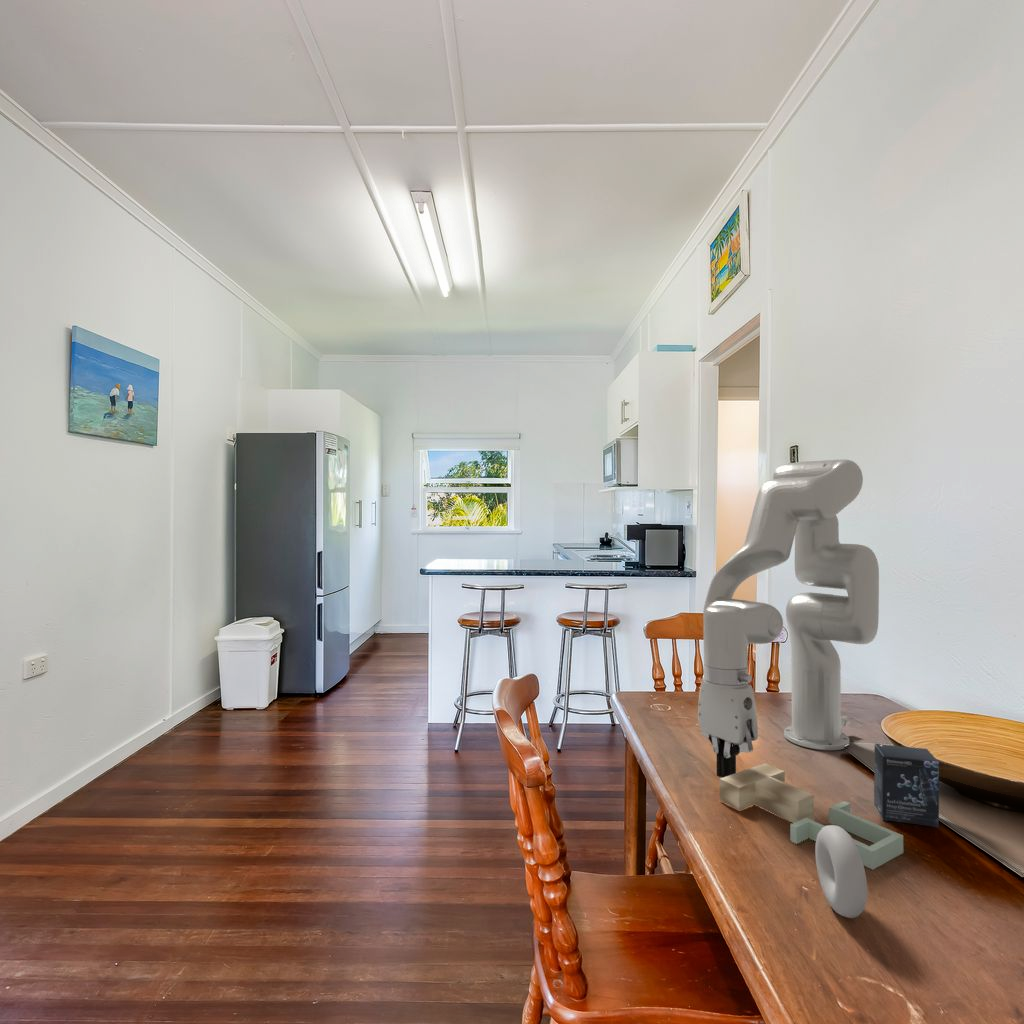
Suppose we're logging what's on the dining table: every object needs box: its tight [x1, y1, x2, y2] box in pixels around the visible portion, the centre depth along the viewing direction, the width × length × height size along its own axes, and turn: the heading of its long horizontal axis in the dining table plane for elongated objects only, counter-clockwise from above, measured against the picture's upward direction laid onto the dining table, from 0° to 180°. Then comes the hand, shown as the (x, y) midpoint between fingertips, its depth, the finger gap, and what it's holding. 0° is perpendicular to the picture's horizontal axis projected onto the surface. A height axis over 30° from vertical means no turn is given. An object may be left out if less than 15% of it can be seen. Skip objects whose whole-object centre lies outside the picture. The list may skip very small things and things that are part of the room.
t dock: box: [789, 800, 904, 870], centre depth 91 cm, size 14×10×2 cm
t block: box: [719, 762, 815, 824], centre depth 102 cm, size 12×12×4 cm
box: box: [873, 743, 940, 828], centre depth 99 cm, size 8×6×11 cm
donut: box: [814, 824, 868, 919], centre depth 76 cm, size 10×4×10 cm, turn 172°
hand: (726, 776), depth 110 cm, fingers closed
